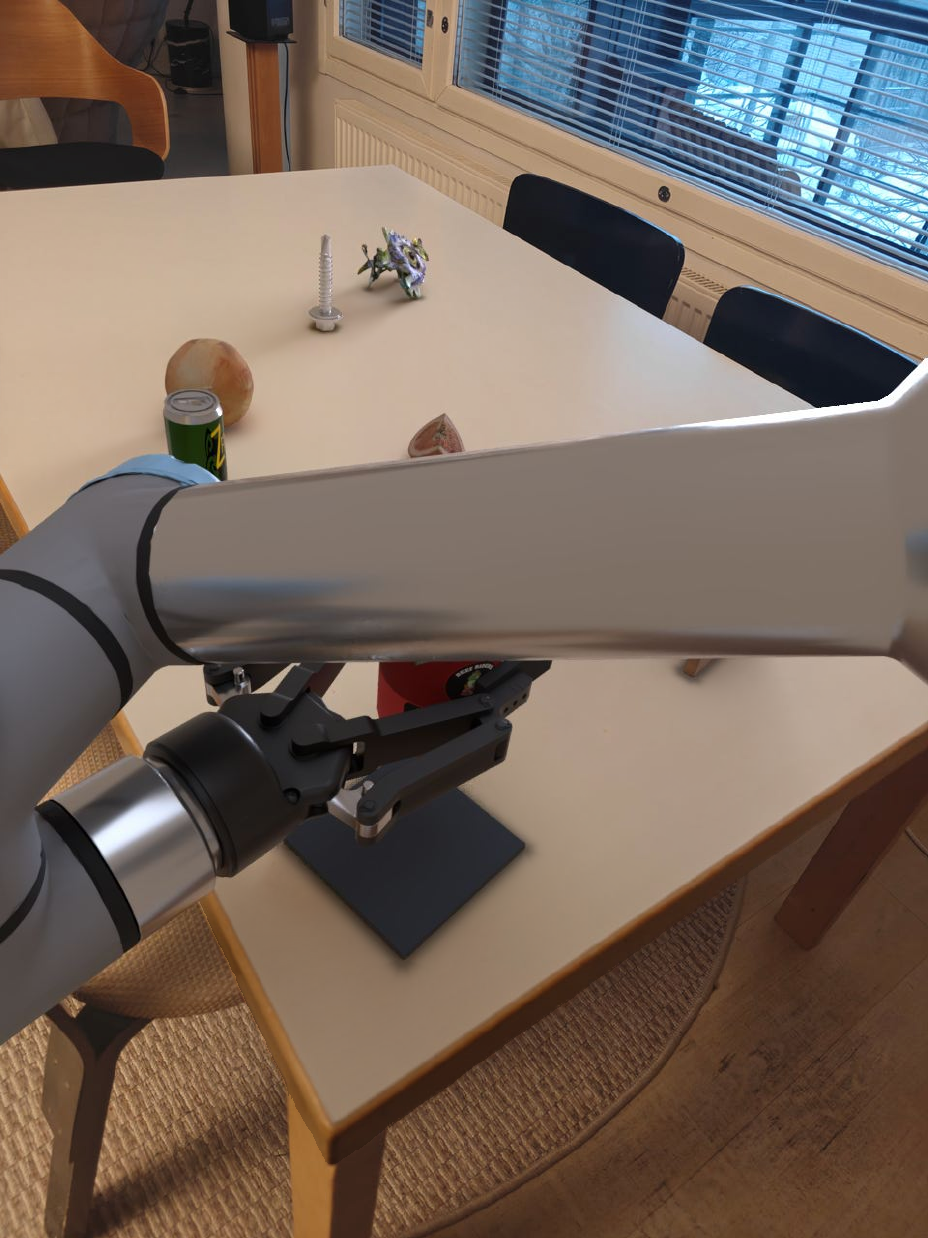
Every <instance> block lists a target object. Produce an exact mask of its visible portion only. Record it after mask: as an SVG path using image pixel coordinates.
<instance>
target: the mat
mask: <svg viewBox="0 0 928 1238" xmlns="http://www.w3.org/2000/svg"><path fill="white" fill-rule="evenodd" d="M416 758H417V756H416V757H412V758H408V759H405V760H401V761H397V762H393V763H390V764H386V765H382V766H380V767H378V768H377V769H376V770H375V772H373V773H372V774H370V775H367V776H364V778H362V779H361V780H360V781H358V782H357V783H356V784H354V785H352V786H351V787H350V788H349V789H348V790H355V789H357V788H359V787H361V786H362V785H363V783H364V782H365V781H372V782H373V783H374V784H375V783H376V782H377V781H378V780H379V779H380V778H382V777H383V776H384V775H386V774H387V773H389V772H391V771H392V770H394V769H396V768H398V767H400V766H402V765H404V764H406V763H408V762H410V761H412V760H414V759H416ZM355 832H356V830H355V829H354V828H353V827H351V826H350V825H348V824H346V823H345V822H343V821H342V820H340V819H339V818H337V817H335V816H334V815H332V814H331V813H330V814H329V815H327V816H324V817H319V818H314V819H310V820H307V821H305V822H303V823H301V824H300V825H299V826H297V827H296V828H295V829H294V830H293V831H292V832H291V833H290V835H289V836H288V837H287V838H286V839H285V840H284V841H283V843H285V845H287V846H288V847H289V848H290V849H291V851H292V852H294V853H295V855H297V856H298V858H300V860H302V861H303V862H304V863H305V864H306V865H307V866H308V867H309V868H310V869H311V870H312V871H313V872H314V873H315V874H316V875H317V876H318V877H319V878H320V879H321V880H322V881H323V882H324V883H325V884H326V885H328V887H329V888H331V890H332V891H334V893H335V894H336V895H337V896H338V897H340V899H342V901H344V903H346V904H347V905H348V907H350V908H351V909H352V910H353V911H354V912H355V913H356V914H357V916H359V917H360V918H361V919H362V921H364V922H365V923H366V924H367V925H368V926H369V927H370V928H371V929H372V930H373V931H374V932H375V933H376V934H377V935H378V936H379V937H380V938H381V939H382V940H383V941H384V942H385V943H386V944H387V945H388V946H389V947H390V948H391V949H392V950H393V951H394V952H395V953H396V954H397V955H399V957H400V958H401V959H402V960H406V959H407V958H408V957H409V956H410V955H411V954H412V953H413V952H414V951H416V950H417V949H418V948H419V947H420V946H421V945H422V944H423V943H424V942H425V941H427V940H428V938H430V937H431V936H432V935H433V934H434V933H435V932H436V931H437V930H438V929H439V928H440V927H442V926H443V924H445V923H446V922H447V921H448V920H449V919H450V918H451V917H452V916H453V915H455V914H456V912H457V911H459V910H460V909H461V908H462V907H463V906H464V905H465V904H466V903H467V902H468V901H470V900H471V899H472V898H473V897H474V896H475V895H476V894H478V892H480V890H481V889H482V888H483V887H484V886H486V885H487V884H488V883H489V882H490V881H491V880H492V879H493V878H494V877H495V876H496V875H498V874H499V873H500V872H501V871H502V870H503V869H504V868H506V866H507V865H509V863H510V862H512V861H513V860H514V859H515V858H516V857H517V856H518V855H519V854H520V853H521V852H522V851H523V850H525V847H526V843H525V842H524V841H523V840H522V839H521V838H519V837H518V836H517V835H516V834H514V833H513V832H512V831H511V830H509V829H508V828H507V827H506V826H505V825H503V824H502V823H501V822H500V821H498V820H497V819H496V818H495V817H494V816H493V815H491V814H490V813H489V812H487V811H486V810H485V809H484V808H483V807H482V806H480V805H479V804H478V803H476V802H475V801H474V800H473V799H472V798H471V797H469V796H468V795H467V794H465V793H464V792H463V791H462V790H460V788H458V787H456V788H455V789H453V790H451V791H449V792H447V793H445V794H444V795H442V796H440V797H438V798H436V799H435V800H433V801H431V802H429V803H427V804H425V805H424V806H422V807H420V808H418V809H416V810H414V811H413V812H411V813H409V814H407V815H405V816H403V817H402V818H400V819H398V820H397V821H396V822H395V823H394V824H393V825H392V827H391V828H390V829H389V830H388V831H387V832H386V833H385V834H384V836H383V837H382V838H381V839H380V840H379V841H378V842H377V843H376V844H375V845H373V846H370V847H364V846H362V845H360V844H359V843H358V842H357V841H356V838H355Z"/></svg>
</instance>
